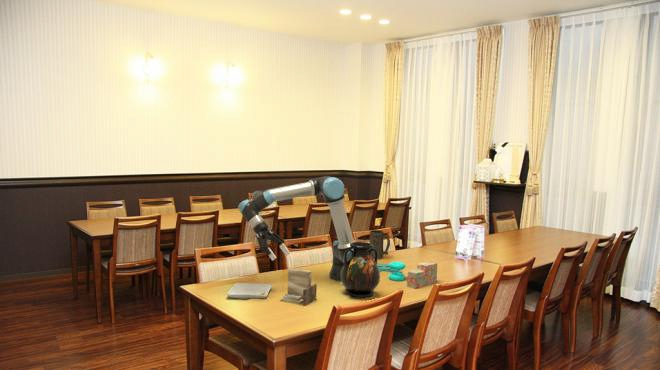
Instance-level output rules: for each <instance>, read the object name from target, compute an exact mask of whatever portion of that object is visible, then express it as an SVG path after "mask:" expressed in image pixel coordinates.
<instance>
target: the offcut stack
mask: <svg viewBox="0 0 660 370" xmlns="http://www.w3.org/2000/svg"><path fill="white" fill-rule="evenodd" d="M285 294H286V295H285ZM285 294H284V295H283V297H282V299H283V301H284V303H288V302H289V303H288V304H293V303H294V305H298V304H299V305H298V306H301V305H300V304H302V303H303V299H302V297H300V296H294V295H288V293H285ZM283 301H282V302H283Z"/></svg>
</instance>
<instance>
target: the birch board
mask: <svg viewBox="0 0 660 370" xmlns="http://www.w3.org/2000/svg"><path fill="white" fill-rule="evenodd" d="M312 276H313V273H312V270H306V269H301V268H296V267H295V268H294V267H290V268H288V269H287V294H290V295H295V296H301V297H303V290H304V289H306V288H308V287H310V286H312V282H313V280H312V278H313V277H312Z"/></svg>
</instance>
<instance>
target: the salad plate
mask: <svg viewBox="0 0 660 370" xmlns="http://www.w3.org/2000/svg"><path fill="white" fill-rule="evenodd" d="M273 286H274V285H273V284H269V283H267V284H266V283H248V282H247V283H245V282H244V283H242V282H235V283H234V284H233V285H232V287H231V288H230V289H229V290H228V292H226V295H227V296H228V297H229V298H234V299H239V300H240V299H241V300H242V299H243V300H244V299H245V300H251V299H265V298H267V297H268V295H269V292H270V291H271V290H272V288H273ZM262 294H263V295H262Z"/></svg>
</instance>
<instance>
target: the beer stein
mask: <svg viewBox="0 0 660 370" xmlns="http://www.w3.org/2000/svg"><path fill="white" fill-rule="evenodd" d="M384 239H386V240H387V242H386V247H385V250H384ZM369 243H371V244H372V245H373V247H372V248H374V249H376V251H377V254H378V258H377V260H383V259H384V255H386V256H388V254H389V252H388V251H389V249H390V246H391V239H390V234H385V235H384V231H383V230H378V229H372V230H370V231H369ZM372 248H370V249H372ZM370 256H371V257H372V258H373V259H374V260H375V252H374V251H372V252H371V254H370Z"/></svg>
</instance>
